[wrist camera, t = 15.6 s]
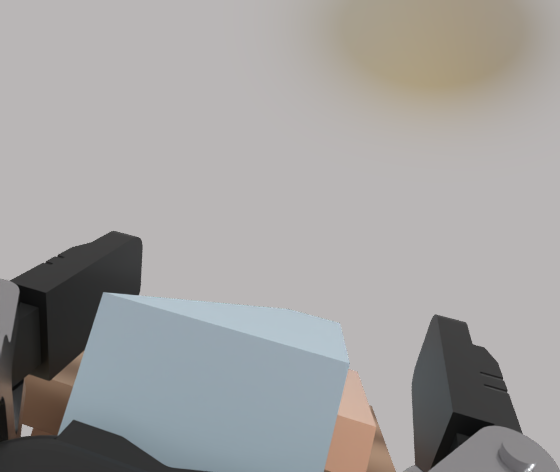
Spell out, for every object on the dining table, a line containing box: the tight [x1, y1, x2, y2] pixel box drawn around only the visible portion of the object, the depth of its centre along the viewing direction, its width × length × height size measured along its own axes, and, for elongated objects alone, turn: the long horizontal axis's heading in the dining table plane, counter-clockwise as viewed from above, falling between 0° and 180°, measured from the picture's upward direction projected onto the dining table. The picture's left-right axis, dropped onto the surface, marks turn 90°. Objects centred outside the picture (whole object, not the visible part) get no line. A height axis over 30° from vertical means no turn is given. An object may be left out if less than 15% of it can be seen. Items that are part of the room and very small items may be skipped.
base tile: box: [325, 369, 376, 472], centre depth 25 cm, size 16×8×2 cm, turn 173°
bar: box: [58, 292, 350, 472], centre depth 20 cm, size 28×4×3 cm, turn 173°
